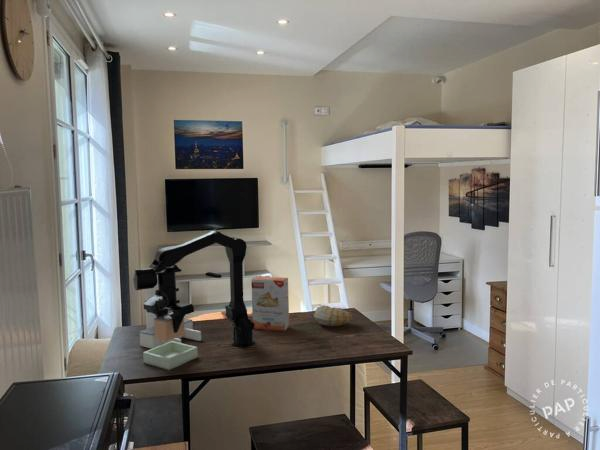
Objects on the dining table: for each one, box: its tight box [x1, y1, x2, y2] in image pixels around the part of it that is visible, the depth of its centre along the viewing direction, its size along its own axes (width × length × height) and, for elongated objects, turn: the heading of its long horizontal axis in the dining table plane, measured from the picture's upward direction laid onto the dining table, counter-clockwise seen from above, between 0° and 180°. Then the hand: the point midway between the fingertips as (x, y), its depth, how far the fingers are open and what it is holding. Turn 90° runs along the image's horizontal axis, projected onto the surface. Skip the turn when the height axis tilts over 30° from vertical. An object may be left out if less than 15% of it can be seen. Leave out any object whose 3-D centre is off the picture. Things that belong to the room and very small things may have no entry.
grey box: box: [154, 311, 185, 341], centre depth 158 cm, size 6×8×7 cm
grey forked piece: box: [138, 317, 202, 349], centre depth 177 cm, size 16×20×5 cm
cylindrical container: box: [143, 275, 158, 329], centre depth 190 cm, size 7×7×25 cm
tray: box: [142, 341, 199, 371], centre depth 159 cm, size 13×13×4 cm
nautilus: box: [313, 304, 353, 327], centre depth 195 cm, size 8×22×15 cm
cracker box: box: [251, 275, 290, 332], centre depth 189 cm, size 14×6×21 cm, turn 73°
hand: (169, 331), depth 158 cm, fingers closed on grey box, 5 cm apart
